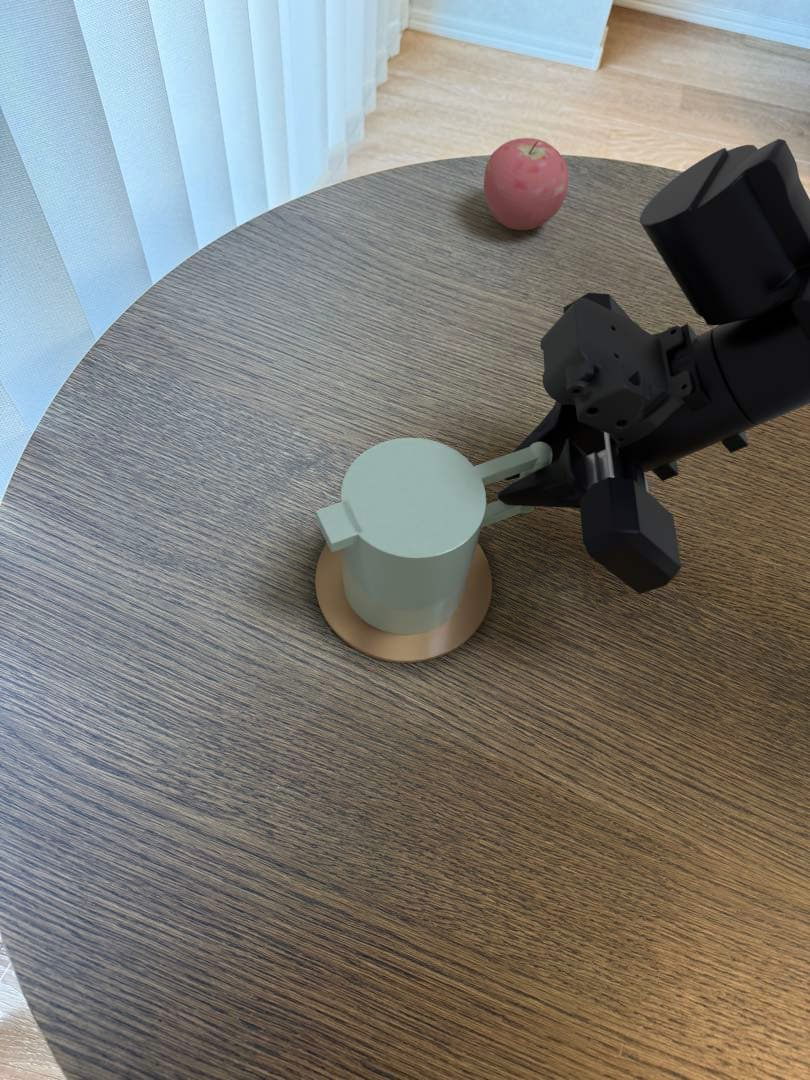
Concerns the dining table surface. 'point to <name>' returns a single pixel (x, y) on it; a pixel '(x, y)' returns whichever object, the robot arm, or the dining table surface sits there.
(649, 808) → the dining table surface
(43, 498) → the dining table surface
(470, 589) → the coaster
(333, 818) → the dining table surface
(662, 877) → the dining table surface
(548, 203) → the apple
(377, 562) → the jug
